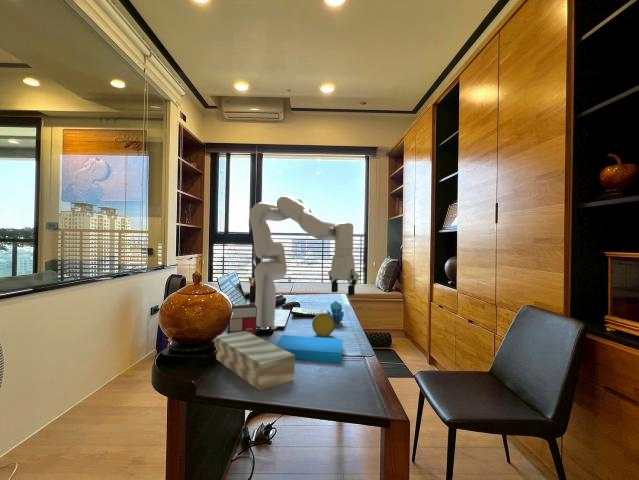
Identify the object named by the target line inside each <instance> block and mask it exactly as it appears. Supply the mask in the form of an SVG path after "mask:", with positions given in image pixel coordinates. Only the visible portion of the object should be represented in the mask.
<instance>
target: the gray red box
mask: <svg viewBox="0 0 639 480" xmlns="http://www.w3.org/2000/svg"><path fill="white" fill-rule="evenodd" d="M231 306H232V309H233V315H232V319H231V323H230V325H229V327H228V326H227V329H226V332H227V333H226V334H231V333H237V332H242V331H247V332H249V333H251V334H253V335H255V336H257V330H256V320H257V306H255V304H241V305H231Z"/></svg>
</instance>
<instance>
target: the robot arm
mask: <svg viewBox="0 0 639 480" xmlns="http://www.w3.org/2000/svg"><path fill="white" fill-rule="evenodd" d="M289 219H291V220H292V221H294V222H295V223H297V224H298V225H299V226H300V228H301V229H302V230H303V231H304V232H305V233H307V234H308V235H310V236H312V237H313V238H315V239H317V240H319V241H320V240H323V241H334V250H333V252H334V255H332V261H331V266H330V268H331V269H330V270H329V271H328V272H327V274H328V276H329V277H328V278H329V280H330V283H331V293H338V292H339V283H338V281H344V282H346V281H347V283H348V286H347V295H348V296H349V297H351V296H355V292H356V290H355V287H356V285H357V284H358V282H359V279H360V274H359V273H358V272H356V267H355V265H356V264H355V258H354V254H353V253H354V225H353V224H352V223H351V222H337V223H335V222H328V221H323V220H320V219H319V218H317V217H316V216H314V215H313V214H312V209H311V208H310V207H308V206H307V205H305V204H304V202H303V201H302V200H301V199H300V198H298V197H296V196H291V195H282V196H280V197H278V199H277V200H276V203H272V202H268V201H260V202H257V203H255V204H254V205H253V207H252V208H251V209H250V213H249V221H250V226H251V229H252V238H253V245H254V246H253V247H254V253H255V256H256V258H258V259H261V260H262V259H263V260H264V259H265V260H267V261H261V262H259V263H257V264H256V266H255V268H254V270H253V271H254V281H255V299H254V300H255V304H254V305H255V306H257V320H256V326H258V327H271V329H272V330H276V329H277V328H278V327H277V325H274V324H275V323H276V322H275V320H276V319H275V317H276V299H277V298H276V296H277V295H276V294H277V293H276V291H277V290H276V286H275V281H279V280H282V279H284V278H285V276H286V275H287V270H288V268H287V260H286V259H287V258H286V252H285V248H284V245H283V244H282V242H281V241H279V239H278V240H277V239H272V234H271V229H270V227H269V224H268V223H267V221H270V222H271V221H273V222H280V221H284V220H285V221H286V220H289ZM272 330H271V331H272Z"/></svg>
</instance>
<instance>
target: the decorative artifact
mask: <svg viewBox="0 0 639 480" xmlns="http://www.w3.org/2000/svg"><path fill="white" fill-rule="evenodd" d="M311 322H312V323H311V325H312V330H313V332H314V333H315V335H317V336H318V337H319V336H320V337H328V336H330V335H332V333H333V332H334V330H335V328H336V327H335V322H334V320H333V318H332V317H331V315H329V314H327V312H320V313H318V314H316V315H315V316H314V317H313V319H312V321H311Z"/></svg>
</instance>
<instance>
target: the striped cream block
mask: <svg viewBox="0 0 639 480" xmlns="http://www.w3.org/2000/svg"><path fill="white" fill-rule="evenodd" d="M216 336H217V337H216V338H215V337H214V348H215V347H216V350H217V354H216V360H217V361H219V362H220V364H222V365H223V366H224V367H226V368H228V369H229V370H230V371H232V372H233V373H235V374H236V375H237V376H239V377H240V378H242V379H243V380H244V381H246V383H248V384H250V385H251V386H253V388H255V389H257V390H258V391H265V390H267V389H270V388H273V387H276V386H280V385H282V384H286V383H289V382H292V381H294V380H295V372H296V371H295V367H296V360H295V355H294V354H292V353H290V352H288V351H286V350H284V349H282V348H280V347H277V346H275V345H276V344H273V343H271V342H270V341H267V340H266V339H263V338H261V337H259V336H257V335H256V336H255V335H253V334H251V333H249V332H247V331H242V332H237V333H231V334H227V333H226V334H221V335H220V334H219V335H216Z"/></svg>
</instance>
